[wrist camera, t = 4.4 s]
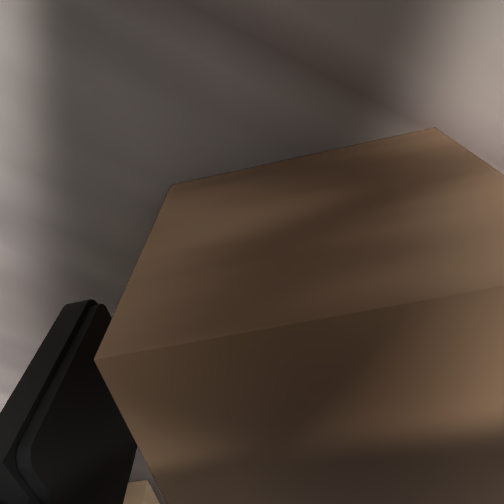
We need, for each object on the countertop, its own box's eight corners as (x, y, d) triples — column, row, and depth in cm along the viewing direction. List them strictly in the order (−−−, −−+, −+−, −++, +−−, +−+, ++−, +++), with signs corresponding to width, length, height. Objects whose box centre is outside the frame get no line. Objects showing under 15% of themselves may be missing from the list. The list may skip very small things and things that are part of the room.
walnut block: (433, 126, 10) (631, 263, 5) (441, 337, 13) (573, 570, 8) (171, 184, 11) (93, 360, 5) (233, 373, 14) (221, 610, 8)
